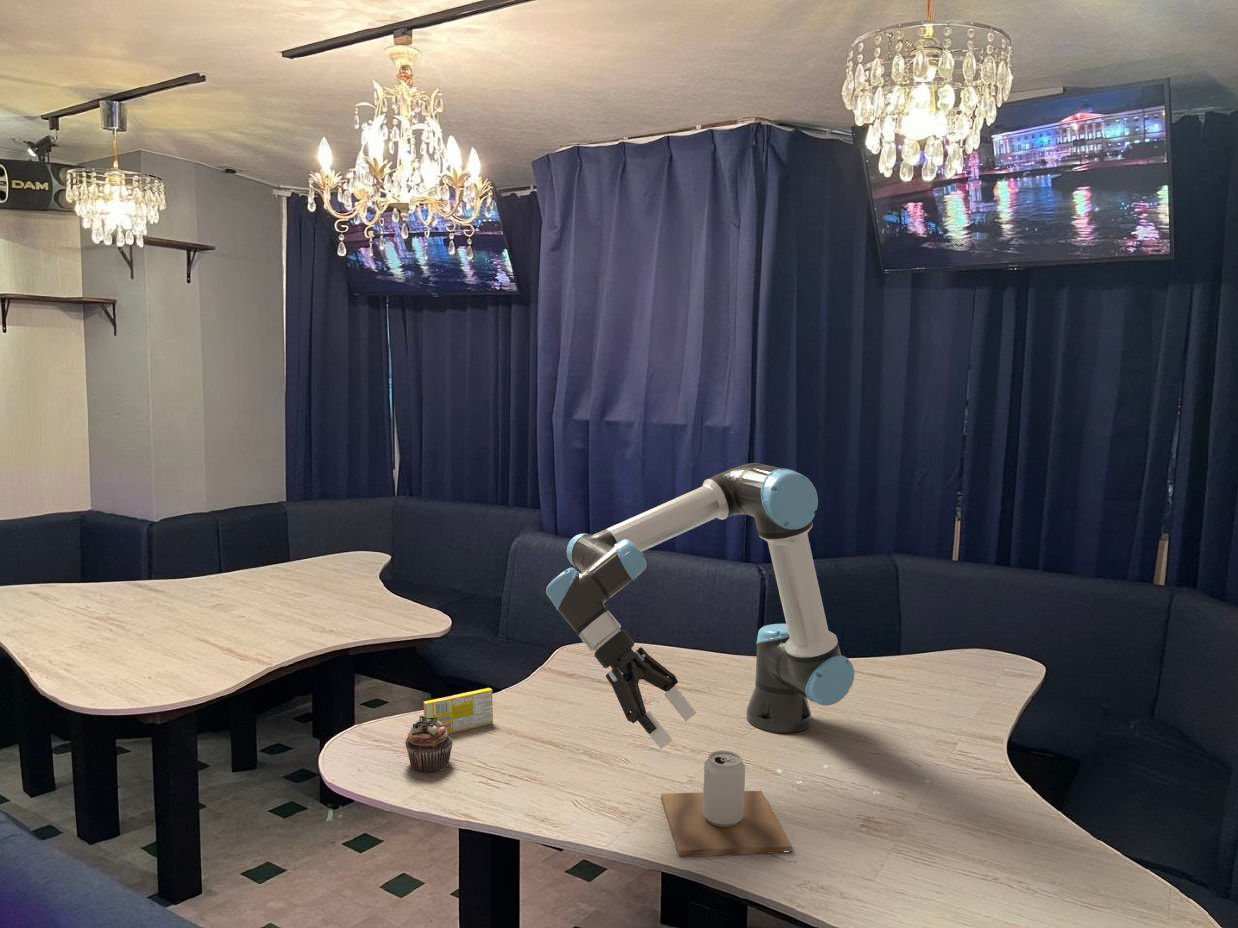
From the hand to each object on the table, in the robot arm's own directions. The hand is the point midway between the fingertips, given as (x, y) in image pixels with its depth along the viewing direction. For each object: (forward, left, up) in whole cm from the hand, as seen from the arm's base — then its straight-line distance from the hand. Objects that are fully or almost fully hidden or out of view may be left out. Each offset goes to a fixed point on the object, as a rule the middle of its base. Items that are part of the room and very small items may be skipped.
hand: (679, 730), depth 169 cm
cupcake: (+48, -24, -17) cm, 56 cm away
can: (-8, +4, -16) cm, 18 cm away
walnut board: (-8, +4, -17) cm, 19 cm away
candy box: (+43, -41, -17) cm, 62 cm away
